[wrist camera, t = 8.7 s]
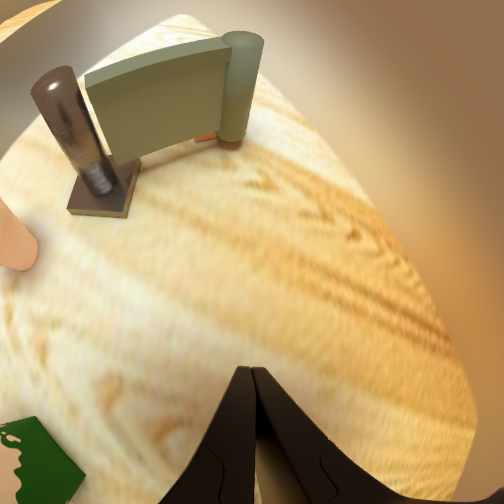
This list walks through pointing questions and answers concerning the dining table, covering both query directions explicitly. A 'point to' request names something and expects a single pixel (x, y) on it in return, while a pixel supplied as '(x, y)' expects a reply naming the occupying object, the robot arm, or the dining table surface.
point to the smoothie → (15, 242)
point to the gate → (176, 94)
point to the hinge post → (84, 148)
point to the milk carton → (34, 466)
